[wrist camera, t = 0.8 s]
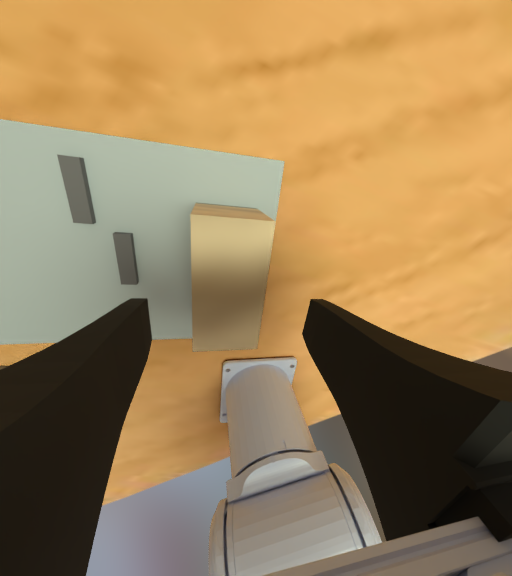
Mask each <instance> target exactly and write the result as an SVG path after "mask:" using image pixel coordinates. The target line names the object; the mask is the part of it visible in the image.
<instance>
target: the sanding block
mask: <svg viewBox="0 0 512 576" xmlns="http://www.w3.org/2000/svg"><path fill="white" fill-rule="evenodd" d="M190 221H191V281H192V342H193V352H201V351H224V350H246V349H257V347H258V340H259V333H260V327H261V320H262V313H263V306H264V299H265V292H266V285H267V279H268V272H269V265H270V258H271V251H272V244H273V237H274V230H275V224H276V221H274V220H273V219H271V218H270V217H269V216H267V215H266V214H264V213H263V212H261V211H260V210H258V209H257V208H249V207H238V206H228V205H218V204H208V203H197V202H196V203H195V206H194V208H193V210H192V212H191V214H190Z"/></svg>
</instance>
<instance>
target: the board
mask: <svg viewBox="0 0 512 576" xmlns="http://www.w3.org/2000/svg"><path fill="white" fill-rule="evenodd" d="M57 155H65V156H73V157H81V158H84V163H85V168H86V173H87V178H88V183H89V188H90V193H91V198H92V203H93V209H94V214H95V219H96V223H94V224H83V223H73V219H72V215H71V211H70V207H69V203H68V198H67V194H66V190H65V186H64V182H63V178H62V173H61V169H60V165H59V161H58V157H57ZM283 168H284V161H279V160H272V159H266V158H259V157H252V156H245V155H239V154H232V153H225V152H218V151H212V150H205V149H198V148H191V147H185V146H178V145H171V144H164V143H158V142H151V141H144V140H137V139H131V138H124V137H117V136H110V135H104V134H97V133H90V132H83V131H77V130H70V129H63V128H56V127H50V126H43V125H36V124H29V123H23V122H16V121H9V120H2V119H0V344H30V343H57V342H59V341H61V340H63V339H64V338H66V337H68V336H70V335H71V334H73V333H75V332H77V331H78V330H80V329H82V328H83V327H85V326H87V325H89V324H90V323H92V322H94V321H95V320H97V319H98V318H100V317H101V316H103V315H105V314H106V313H108V312H109V311H111V310H112V309H114V308H116V307H117V306H119V305H120V304H122V303H123V302H125V301H127V300H129V299H131V298H147V299H148V307H149V316H150V325H151V333H152V340H156V339H188V338H192V281H191V221H190V214H191V212H192V210H193V208H194V206H195V203H196V202H197V203H208V204H218V205H228V206H238V207H249V208H257V209H258V210H260V211H261V212H263V213H264V214H266V215H267V216H269V217H270V218H271V219H273V220H274V221H276V216H277V209H278V202H279V196H280V189H281V182H282V175H283ZM114 232H125V233H133V240H134V247H135V255H136V263H137V271H138V278H139V282H138V284H137V285H121V281H120V275H119V269H118V263H117V257H116V251H115V245H114V239H113V233H114Z"/></svg>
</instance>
